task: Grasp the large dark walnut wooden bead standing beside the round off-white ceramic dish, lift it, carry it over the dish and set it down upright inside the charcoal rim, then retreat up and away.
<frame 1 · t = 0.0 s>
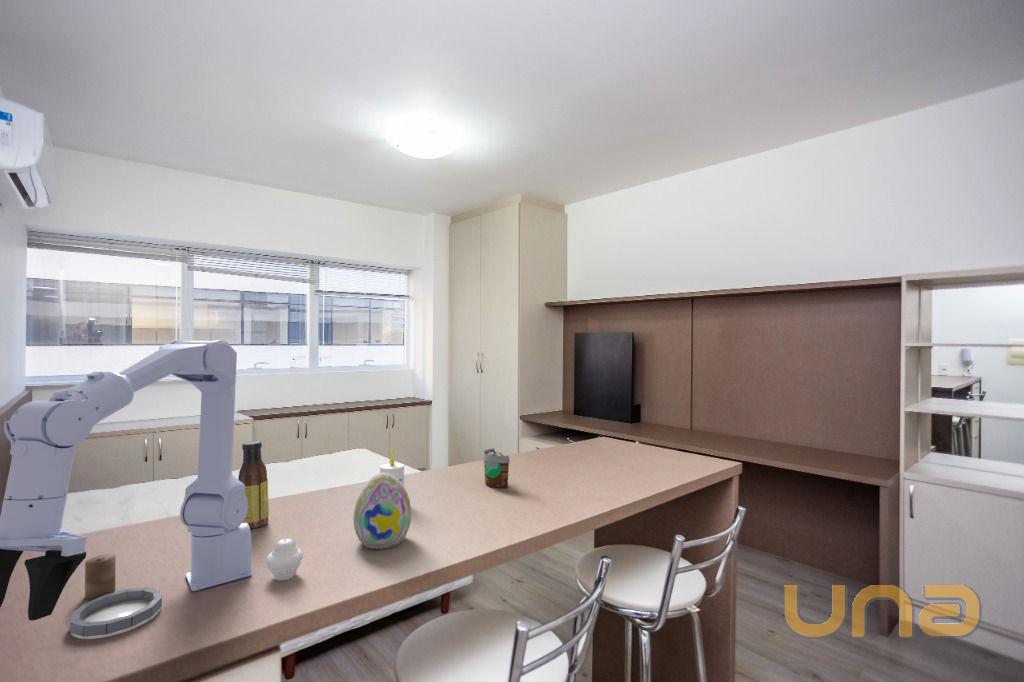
hand: (13, 614, 58), 11 cm above the table, tool pointing down, fingers open, 7 cm apart
ring dish: (117, 618, 76), on the table
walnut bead: (100, 594, 84), on the table
decorative egg: (382, 542, 106), on the table
food container: (492, 485, 149), on the table
sauce bottle: (253, 526, 116), on the table
candle: (392, 505, 130), on the table
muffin: (284, 577, 90), on the table
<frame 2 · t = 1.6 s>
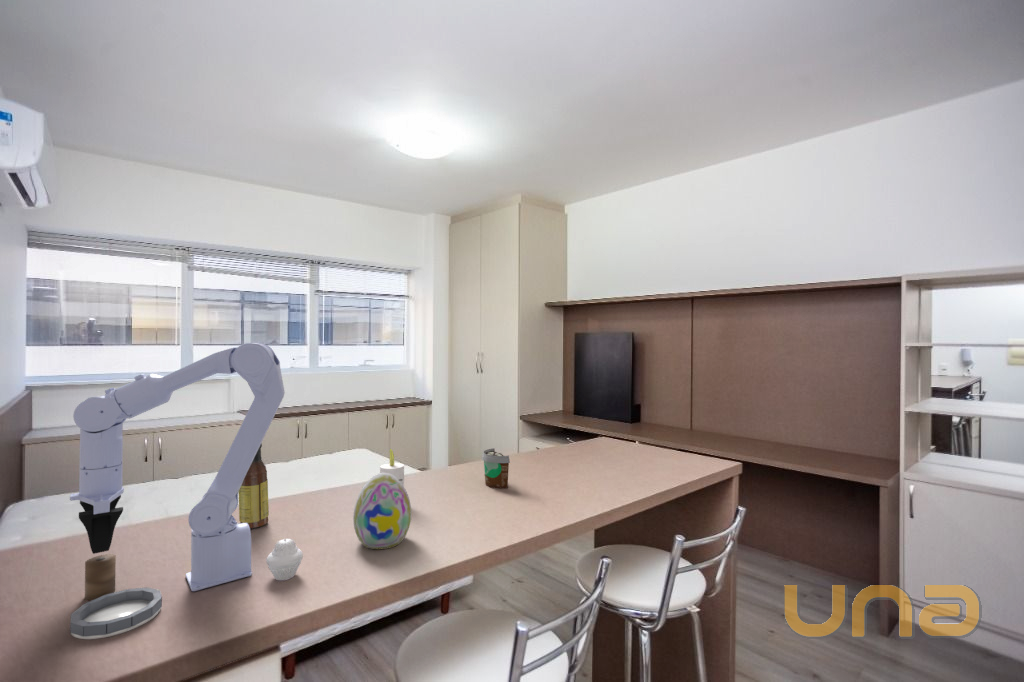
hand: (100, 544, 84), 9 cm above the table, tool pointing down, fingers open, 7 cm apart
nothing on the table moved.
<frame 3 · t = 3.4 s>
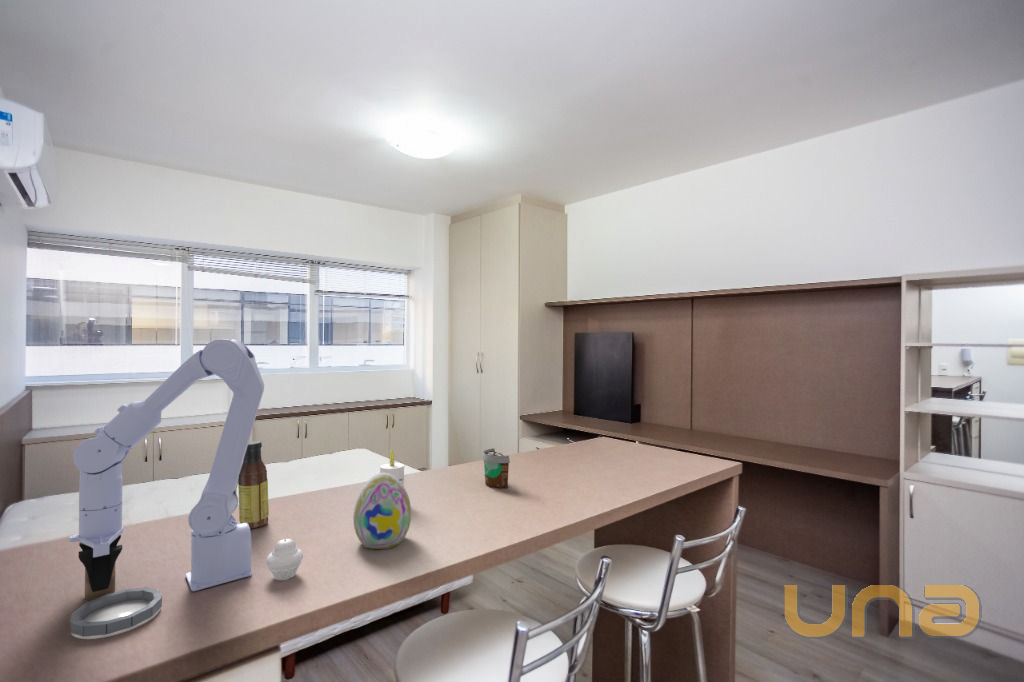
hand: (100, 584, 84), 2 cm above the table, tool pointing down, fingers closed on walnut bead, 4 cm apart
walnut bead: (100, 594, 84), on the table, touching gripper
everything else where it was.
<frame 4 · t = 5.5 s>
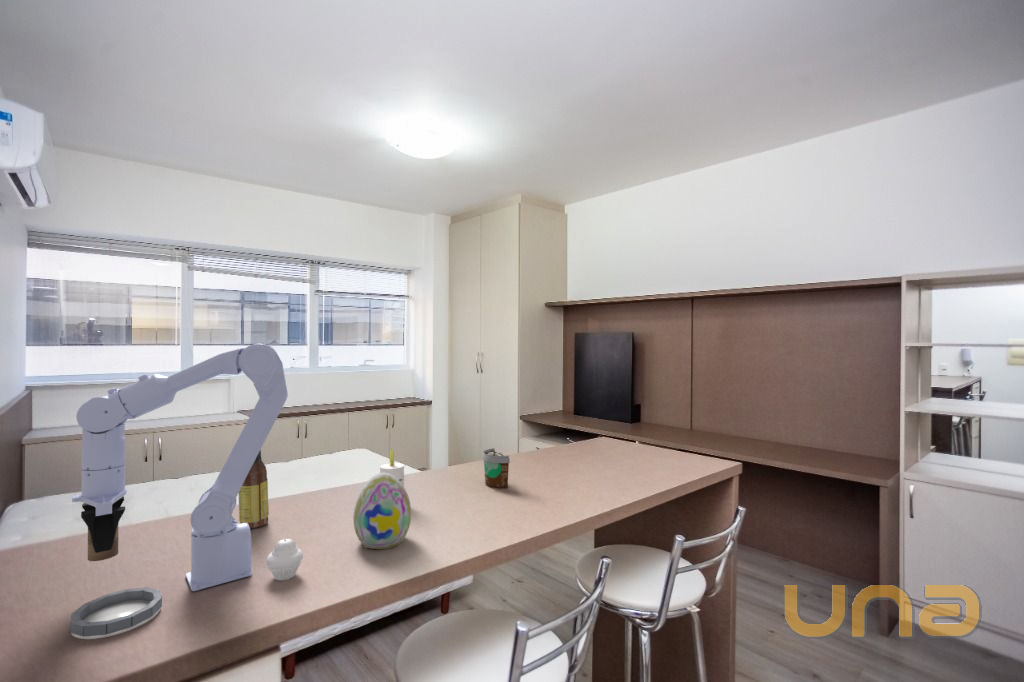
hand: (103, 546, 83), 9 cm above the table, tool pointing down, fingers closed on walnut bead, 4 cm apart
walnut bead: (103, 555, 83), point 7 cm above the table, touching gripper
everything else where it was.
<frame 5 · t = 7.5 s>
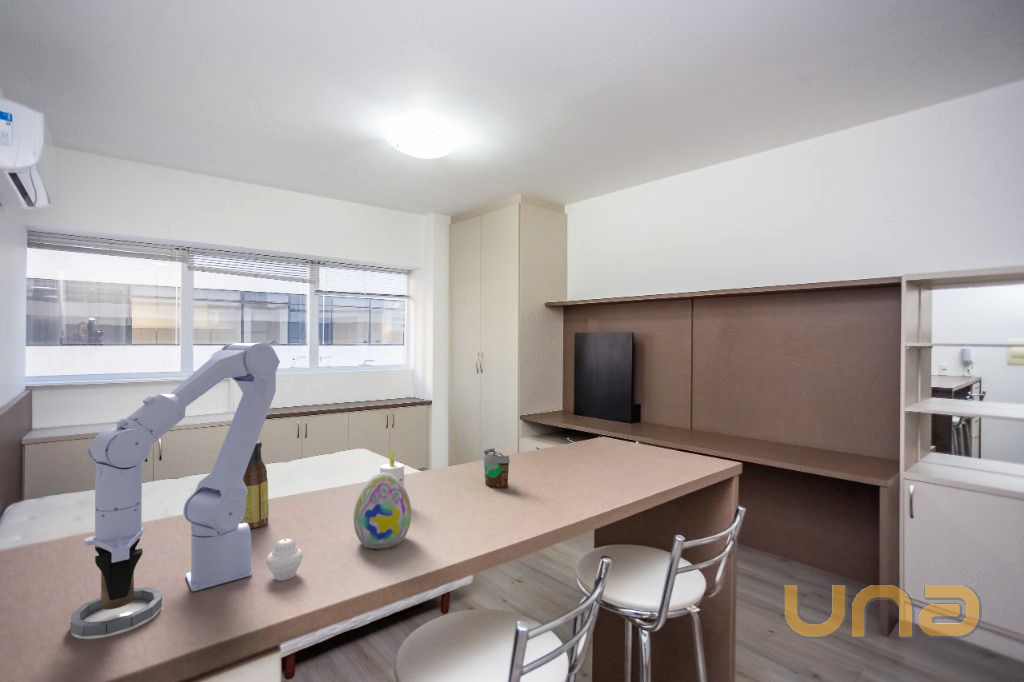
hand: (118, 591, 76), 4 cm above the table, tool pointing down, fingers closed on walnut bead, 4 cm apart
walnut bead: (117, 602, 76), point 2 cm above the table, touching gripper
everything else where it was.
when the fingers open (4 cm above the table, at t = 7.9 s): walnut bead drops 2 cm, resting on ring dish.
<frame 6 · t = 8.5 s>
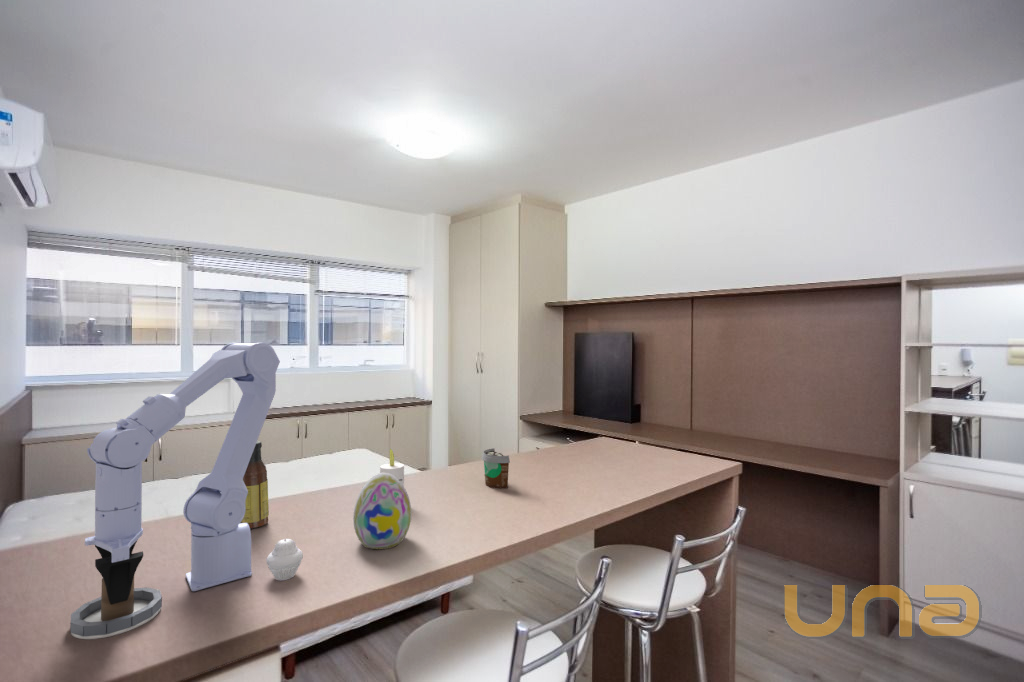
hand: (118, 591, 76), 4 cm above the table, tool pointing down, fingers open, 7 cm apart
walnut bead: (117, 614, 76), point 1 cm above the table, touching ring dish
everything else where it was.
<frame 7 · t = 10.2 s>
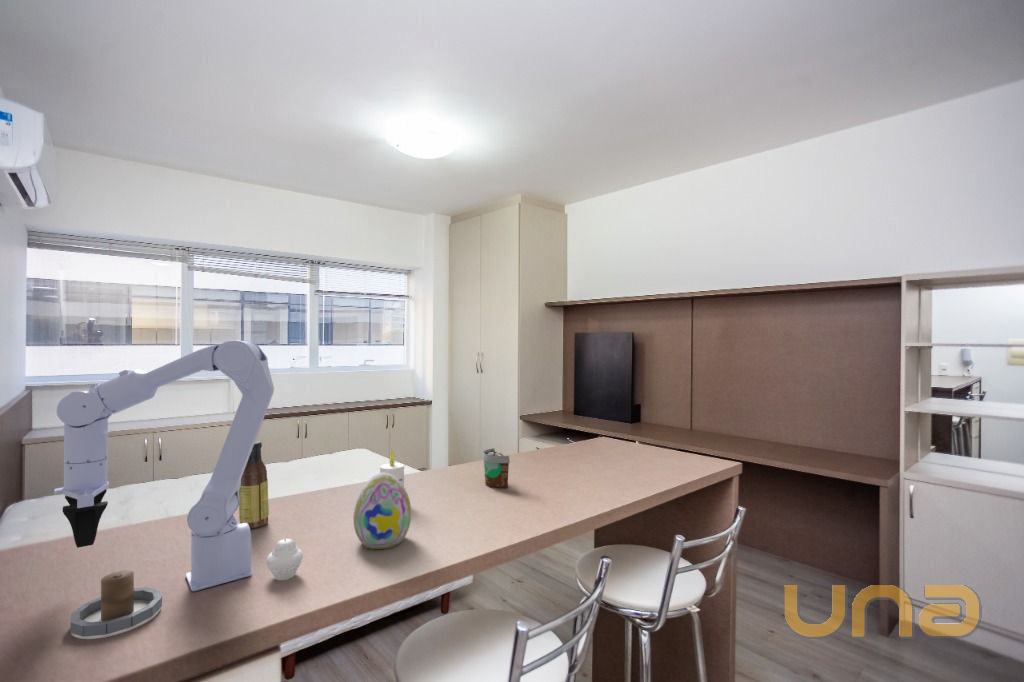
hand: (85, 538, 84), 9 cm above the table, tool pointing down, fingers open, 7 cm apart
nothing on the table moved.
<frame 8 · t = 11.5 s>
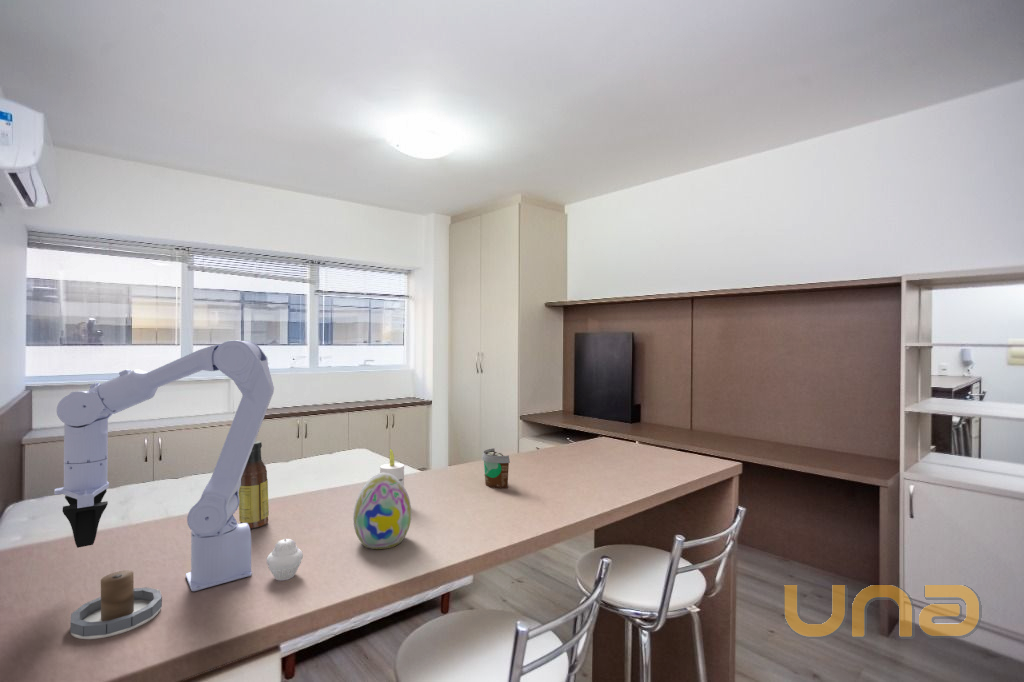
hand: (85, 538, 84), 9 cm above the table, tool pointing down, fingers open, 7 cm apart
nothing on the table moved.
at the end: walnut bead 0.1 cm from the ring dish (horizontally); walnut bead touching ring dish; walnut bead tilted 1° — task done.
